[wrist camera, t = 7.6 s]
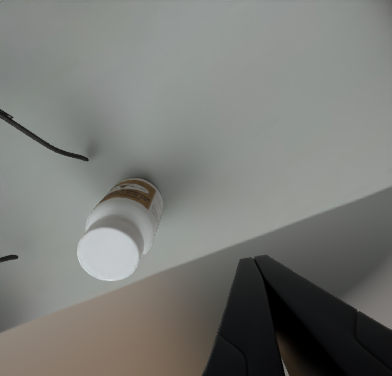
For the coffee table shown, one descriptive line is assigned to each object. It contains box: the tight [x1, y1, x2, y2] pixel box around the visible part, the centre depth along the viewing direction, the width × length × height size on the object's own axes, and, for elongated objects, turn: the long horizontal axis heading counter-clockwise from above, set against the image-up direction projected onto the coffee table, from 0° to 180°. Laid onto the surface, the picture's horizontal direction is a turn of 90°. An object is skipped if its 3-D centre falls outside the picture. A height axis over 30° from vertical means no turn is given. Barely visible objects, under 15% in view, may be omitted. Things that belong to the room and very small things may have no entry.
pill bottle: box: [77, 178, 163, 281], centre depth 19 cm, size 4×4×8 cm
